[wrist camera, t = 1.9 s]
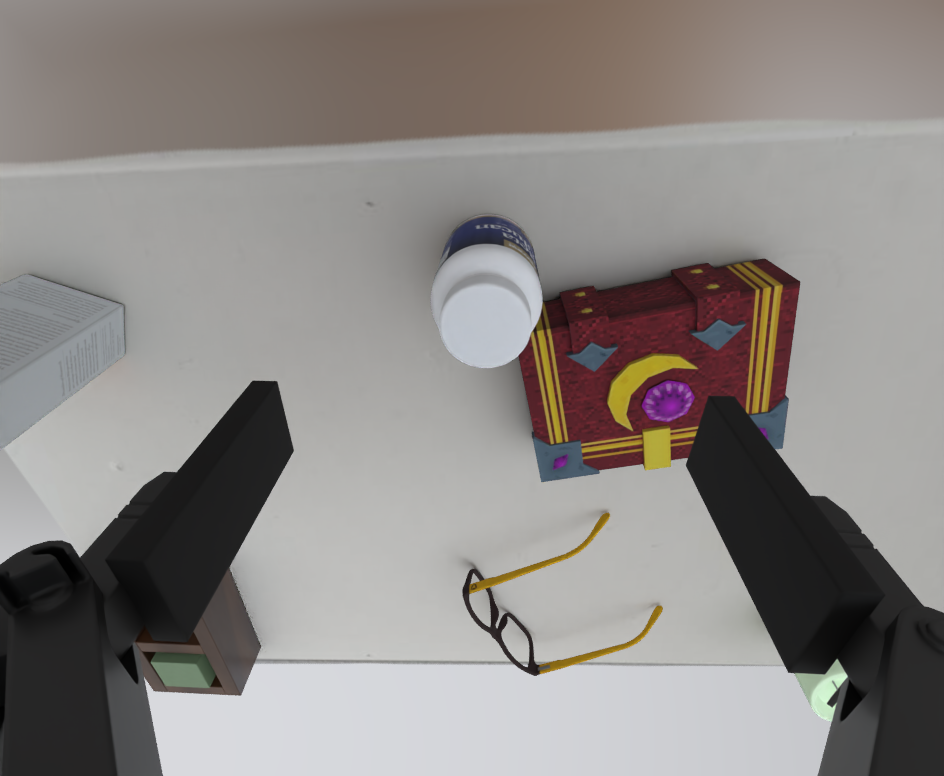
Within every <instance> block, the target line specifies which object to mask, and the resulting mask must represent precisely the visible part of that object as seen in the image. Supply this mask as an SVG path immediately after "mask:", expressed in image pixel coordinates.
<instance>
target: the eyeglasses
mask: <svg viewBox="0 0 944 776" xmlns="http://www.w3.org/2000/svg"><path fill="white" fill-rule="evenodd" d="M609 517H610V514H609V513H604V514H603V515H602V516H601V518H600V519H599V521H598V522H597V524H596V525H595V527H594V529H593V530H592V532H591V534H590V535H589V537H588V538H587V539H586V540H585V541H584V542H583V543H582V544H581V545H580V546H578V547H577V548H576V549H574V550H572V551H570V552H568V553H566V554H564V555H561V556H558V557H555V558H552V559H549V560H546V561H543V562H540V563H537V564H533V565H530V566H527V567H524V568H521V569H518V570H515V571H512V572H509V573H506V574H503V575H500V576H497V577H492V578H488V579H485V580H484V579H483V578H482V576H481V575H480V574H479V572H478V571H477V570H476V569H471V570H470V571H469V573H468V576H467V579H466V582H465V585H464V587H463V598H464V602H465V605H466V607H467V610H468V612H469V613H470V615H471V617H472V618H473V619H474V621H475V622H476V623H477V624H478V625H479V626H480V627H481V628H482V629H483V630H485V631H487V632H488V633H490V634H491V635H492V637H493V638H494V639H495V640H496V641H497V642H498V643H499V645H500V646H501V648H502V650H503V652H504V653H505V655H506V656H507V657H508V658H509V659H510V660H511V662H512V663H514V664H515V665H516V666H517V667H518V668H520V669H521V670H523V671H525V672H527V673H529V674H531V675H534V676H537V675H539V674H543V673H547V672H550V671H554V670H558V669H561V668H565V667H568V666H571V665H574V664H577V663H581V662H584V661H587V660H590V659H593V658H597V657H600V656H603V655H606V654H609V653H613V652H616V651H619V650H622V649H625V648H628V647H630V646H633V645H634V644H636V643H638V642H639V641H640V640H641V639H642V638H644V637H645V635H646V634H647V633H648V631H649V630H650V629H651V627H652V626H653V624H654V623H655V621H656V620H657V619H658V617H659V616H660V614H661V612H662V610H663V608H662V606H657V607H656V608H655V609H654V611H653V613H652V615H651V617H650V619H649V621H648V623H647V625H646V627H645V629H644V630H643V631H642V632H641V633H640V634H639V635H638V636H637V637H636V638H635V639H633V640H631V641H629V642H627V643H625V644H621V645H617V646H613V647H610V648H606V649H602V650H598V651H594V652H591V653H587V654H583V655H579V656H575V657H572V658H568V659H564V660H557V661H553V662H549V663H545V664H541V665H537V664H535V661H534V651H533V641H532V638H531V635H530V634H529V632H528V631H527V630H526V629H525V628H524V626H523V625H522V624H521V623H520V622H519V621H518V620H517V619H516V618H515V617H514V616H513V615H512V614H510V613H505V614H504V615H503V616H502V618H501V620H500V623H499V626H498V629H497V628H496V622H497V620H498V617H499V611H498V608H497V606H496V604H495V601H494V598H493V595H492V592H491V590H490V588H489V587H492V586H495V585H497V584H500V583H503V582H506V581H508V580H511V579H514V578H516V577H519V576H522V575H525V574H527V573H530V572H533V571H535V570H538V569H541V568H543V567H546V566H549V565H552V564H554V563H557V562H560V561H562V560H565V559H568V558H570V557H572V556H574V555H576V554H577V553H579V552H580V551H581V550H583V549H584V548H585V547H586V546H587V545H588V544H589V543H590V542H591V541H592V540H593V538H594V537H595V536H596V535H597V533H598V532H599V531H600V530H601V528H602V527H603V526H604V525H605V523H606V522H607V521H608V519H609ZM473 573H474V574H475V575H476V576H477V578H478V579H479V580H480V581H479V582H476V583H473V584H470V583H471V579H472V575H473ZM483 589H486V590H487V592H488V595H489V599H490V608H491V626H490V627H488V626H486V625H485V624H483V623H482V622H481V621H480V620H479V618H478V617H477V616H476V615H475V613H474V611H473V610H472V608H471V605H470V602H469V594H471V593H474V592H477V591H480V590H483ZM507 616H508V617H510V618H511V619H512V620H513V621H514V622H515V623H516V624H517V625H518V626H519V627H520V629H521V630H522V631H523V632H524V633H525V634H526V636H527V638H528V641H529V664H528V667H525V666H523V665H521V664H520V663H519V662H518V661H517V660H516V659H515V658H514V657H513V656H512V655H511V654H510V652H509V651H508V649H507V648H506V646H505V644H504V642H503V640H502V637H501V632H502V630H503V629H504V628H505V626H506V624H507V621H508V620H507Z"/></svg>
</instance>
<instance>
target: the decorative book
mask: <svg viewBox="0 0 944 776" xmlns="http://www.w3.org/2000/svg"><path fill="white" fill-rule="evenodd" d="M671 273H672V277H668V278H663V279H658V280H653V281H648V282H643V283H638V284H633V285H628V286H623V287H618V288H613V289H608V290H603V291H598V292H597V291H596V289H595V287H594V286H590V287H585V288H580V289H575V290H570V291H565V292H560V298H561V299H557V300H552V301H547V302H542V310H541V314H540V317H539V320H538V322H537V324H536V326H535V328H534V329H533V331H532V332H531V335H530V338H529V341H528V343H527V345H526V347H525V348H524V350H523V351H522V352H521V353H520V354H519V355H518V356H519V361H520V365H521V370H522V375H523V380H524V385H525V390H526V395H527V400H528V405H529V410H530V415H531V420H532V425H533V429H534V432H532V437H533V442H534V447H535V452H536V457H537V462H538V467H539V472H540V478H541V482H546V481H552V480H559V479H566V478H572V477H579V476H586V475H593V474H599V470H604V469H611V468H618V467H625V466H633V465H640V464H643V465H644V468H645V470H651V469H658V468H665V467H671V460H675V459H682V458H688V457H689V454H690V451H691V448H692V445H693V442H694V439H695V436H696V432H697V429H698V426H699V423H700V420H701V417H702V414H703V411H704V408H705V405H706V402H707V399H708V396H735V398H736V399H737V400H738V402H739V403H740V404H741V406H742V407H743V408H744V409H745V411H746V412H747V413H748V415H749V416H750V417H751V419H752V420H753V421H754V423H755V424H756V425H757V427H758V428H759V429H760V430H761V432H762V433H763V434H764V436H765V437H766V438H767V440H768V441H769V442H770V444H771V445H772V446H773V448H774V449H782V448H783V440H784V433H785V425H786V417H787V409H788V401H789V399H788V398H787V396H786V395H785V392H786V385H787V377H788V370H789V362H790V355H791V347H792V340H793V333H794V325H795V318H796V310H797V303H798V295H799V288H800V281H798V280H797V279H795V278H794V277H792V276H791V275H789V274H788V273H786V272H785V271H783V270H782V269H780V268H779V267H777V266H775V265H774V264H772V263H771V262H769V261H768V260H766V259H760V260H755V261H750V262H745V263H739V264H734V265H729V266H724V267H719V268H713V267H712V266H711V265H710V264H709V263H705V264H700V265H695V266H690V267H685V268H680V269H675V270H671Z"/></svg>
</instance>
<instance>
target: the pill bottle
mask: <svg viewBox="0 0 944 776" xmlns="http://www.w3.org/2000/svg"><path fill="white" fill-rule="evenodd" d="M542 302H543V301H542V289H541V284H540V279H539V275H538V270H537V265H536V260H535V255H534V250H533V247H532V244H531V242H530V239H529V237H528V236H527V234H526V233H525V231H524V230H523V229H522V228H521V227H520V226H519V225H518V224H516V223H515V222H514V221H512V220H510V219H508V218H506V217H503V216H499V215H493V214H484V215H478V216H475V217H472V218H469V219H467V220H466V221H464V222H463V223H461V224H460V225H459V226H458V227H457V228H456V229H455V230H454V231H453V232H452V234H451V235H450V237H449V239H448V241H447V243H446V245H445V248H444V251H443V254H442V258H441V261H440V264H439V267H438V270H437V272H436V275H435V278H434V282H433V286H432V290H431V310H432V314H433V317H434V320H435V322H436V324H437V326H438V328H439V331H440V336H441V339H442V341H443V343H444V345H445V347H446V348H447V350H448V351H449V352H450V353H451V354H452V355H453V356H454V357H455V358H456V359H458V360H459V361H461V362H463V363H465V364H467V365H470V366H473V367H478V368H494V367H498V366H502V365H504V364H506V363H508V362H510V361H512V360H513V359H515V358H516V357H517V356H518V355H519V354H520V353H521V352H522V351H523V350H524V348H525V347H526V345H527V343H528V341H529V338H530V335H531V332H532V331H533V329H534V328H535V326H536V324H537V322H538V320H539V317H540V314H541V310H542Z"/></svg>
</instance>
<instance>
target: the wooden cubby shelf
mask: <svg viewBox="0 0 944 776" xmlns="http://www.w3.org/2000/svg"><path fill="white" fill-rule="evenodd" d="M134 642H135V644H136V646H137V648H138V649H139V654H140V659H141V664H142V670H143V675H144V677H145V679H146V680H147V682H148V683H149V685H150V686H151V687H152V689H153V690H154V691H161V692H179V693H180V692H181V693H199V694H220V695H226V694H227V695H241V694H242V692H243V689H244V686H245V684H246V682H247V679H248V677H249V675H250V672H251V670H252V667H253V665H254V663H255V660H256V658H257V655H258V653H259V651H260V648H261V646H260V644H259V641H258V639H257V636H256V634H255V631H254V629H253V626H252V624H251V621H250V619H249V617H248V614H247V612H246V609H245V607H244V604H243V602H242V599H241V597H240V594H239V592H238V589H237V587H236V584H235V582H234V580H233V577H232V575H231V572H230V570H229V568H228V570H227V572H226V574H225V576H224V577H223V579H222V581H221V583H220V585H219V586H218V588H217V590H216V592H215V594H214V595H213V597H212V599H211V601H210V603H209V604H208V606H207V608H206V610H205V612H204V613H203V615H202V617H201V619H200V621H199V622H198V624H197V626H196V628H195V630H194V631H193V633H192V635H191V637H190V639H189V640H188V642H170V641H154V640H153V639H152V637H151V635H150V634H149V632H148V630H147V629H146V627H145V626H144V627H143V629H142V630H141V632H140V633H139V635H138V636H137V638H136V639H135V641H134ZM156 652H166V653H187V654H206V656H207V658H208V660H209V662H210V664H211V666H212V668H213V670H214V672H215V674H216V675H215V678H214V680H213V682H212V684H211V686H210V688H196V687H176V686H166V685H165V684H164V682H163V681H162V679H161V678H160V676H159V675H158V673H157V672H156V670H155V669H154V667H153V665H152V664H151V660H152V658H153V657H154V655H155V653H156Z"/></svg>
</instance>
